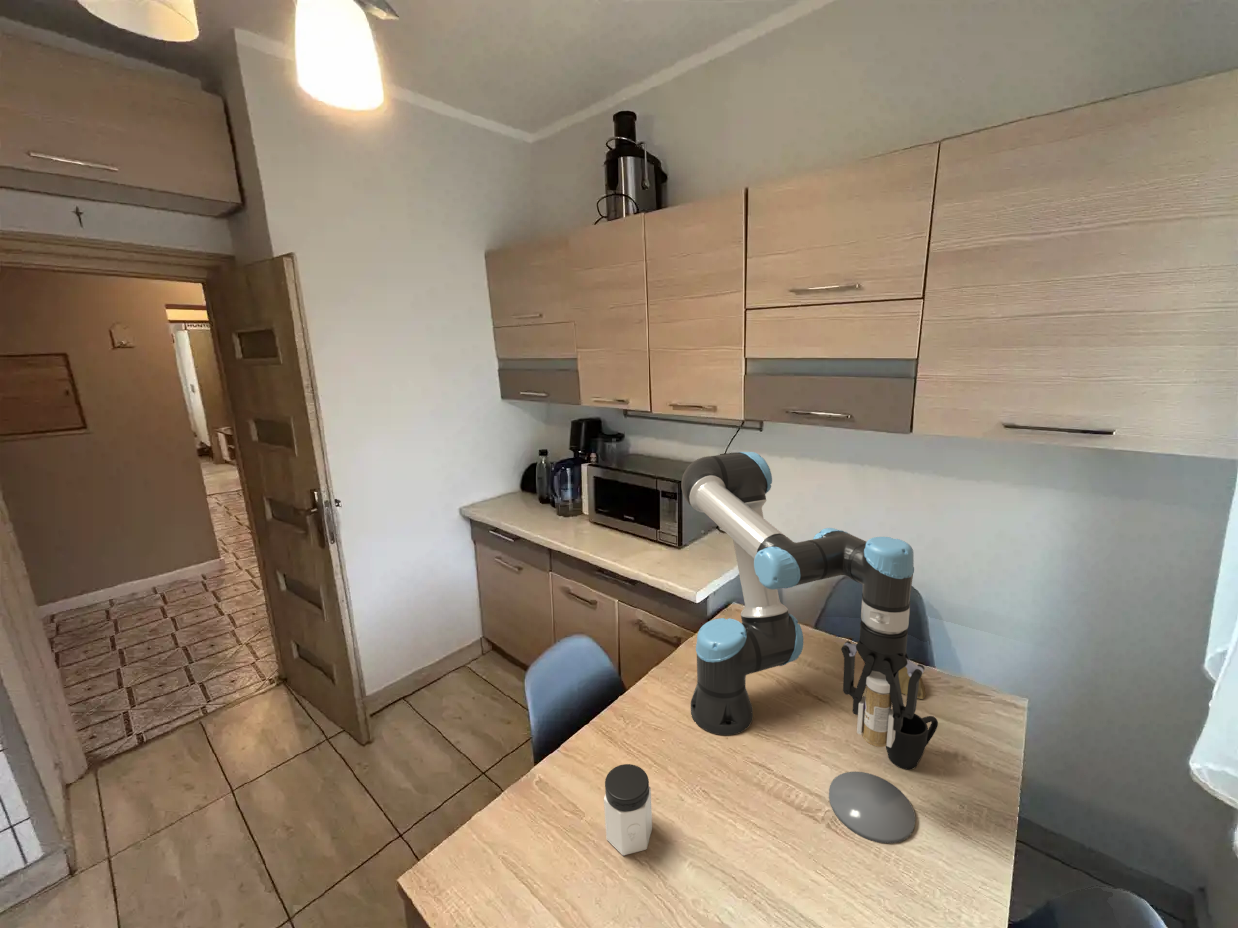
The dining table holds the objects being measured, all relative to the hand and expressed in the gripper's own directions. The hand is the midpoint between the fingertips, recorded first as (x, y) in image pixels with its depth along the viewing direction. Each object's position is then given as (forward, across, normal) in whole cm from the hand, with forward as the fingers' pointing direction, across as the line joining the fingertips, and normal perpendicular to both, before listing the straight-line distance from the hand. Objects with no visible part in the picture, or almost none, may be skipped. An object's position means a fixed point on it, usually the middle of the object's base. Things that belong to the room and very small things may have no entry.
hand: (875, 735), depth 95 cm
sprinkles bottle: (+1, 0, 0) cm, 1 cm away
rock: (+17, -4, +41) cm, 44 cm away
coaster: (+16, 0, 0) cm, 16 cm away
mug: (+16, +3, +18) cm, 25 cm away
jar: (+16, -33, -34) cm, 50 cm away
